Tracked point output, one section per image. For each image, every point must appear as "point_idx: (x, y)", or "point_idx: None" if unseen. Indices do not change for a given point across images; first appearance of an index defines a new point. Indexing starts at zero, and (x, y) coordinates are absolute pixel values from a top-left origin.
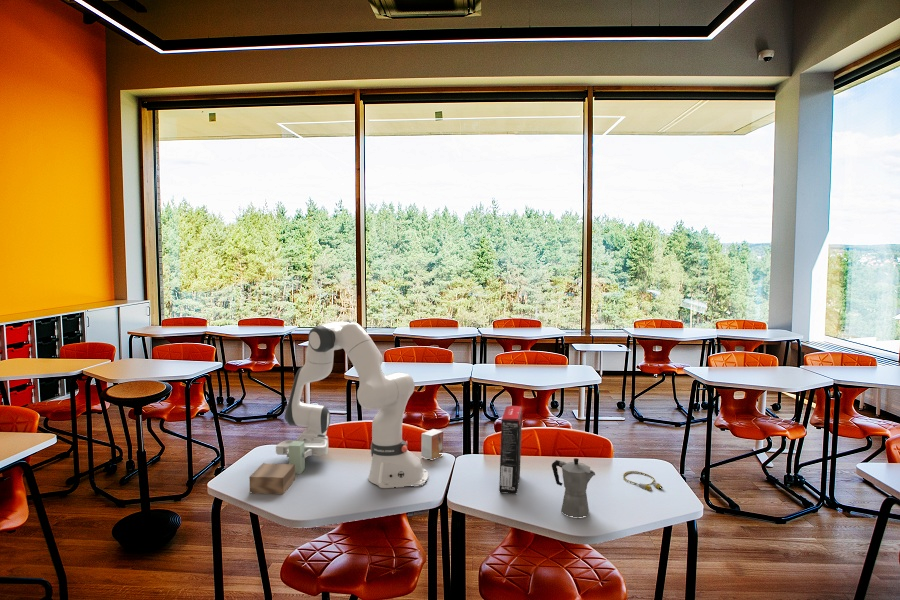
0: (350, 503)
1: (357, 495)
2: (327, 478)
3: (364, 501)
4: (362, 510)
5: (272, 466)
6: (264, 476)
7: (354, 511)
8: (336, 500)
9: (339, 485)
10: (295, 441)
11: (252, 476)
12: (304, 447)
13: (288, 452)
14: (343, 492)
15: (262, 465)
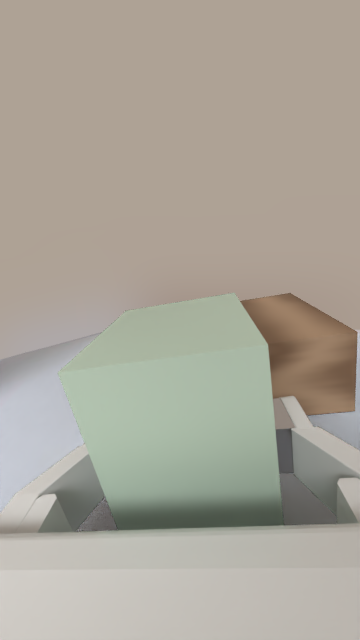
0: (39, 361)
1: (4, 383)
2: (33, 460)
3: (7, 370)
4: (30, 352)
5: (270, 328)
6: (242, 301)
7: (45, 348)
8: (63, 362)
9: (17, 415)
10: (209, 343)
11: (281, 295)
12: (90, 456)
13: (283, 405)
14: (29, 387)
15: (332, 323)
